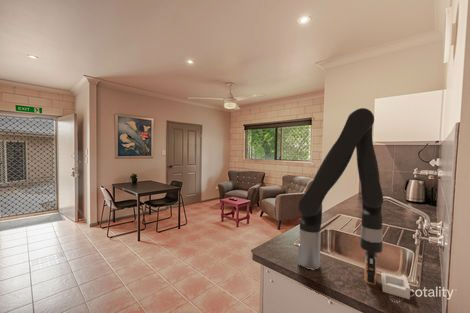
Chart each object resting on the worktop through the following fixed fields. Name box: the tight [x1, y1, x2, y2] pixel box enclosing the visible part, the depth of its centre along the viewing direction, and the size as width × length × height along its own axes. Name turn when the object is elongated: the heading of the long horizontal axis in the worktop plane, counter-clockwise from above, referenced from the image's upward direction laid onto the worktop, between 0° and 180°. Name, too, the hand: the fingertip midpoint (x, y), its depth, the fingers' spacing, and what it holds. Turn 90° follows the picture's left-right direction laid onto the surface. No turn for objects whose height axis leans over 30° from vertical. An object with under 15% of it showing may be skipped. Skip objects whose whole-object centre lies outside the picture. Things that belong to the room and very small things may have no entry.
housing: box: [380, 272, 411, 300], centre depth 82 cm, size 8×9×4 cm
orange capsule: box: [364, 259, 377, 286], centre depth 86 cm, size 4×4×8 cm
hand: (370, 276), depth 86 cm, fingers open, 8 cm apart
